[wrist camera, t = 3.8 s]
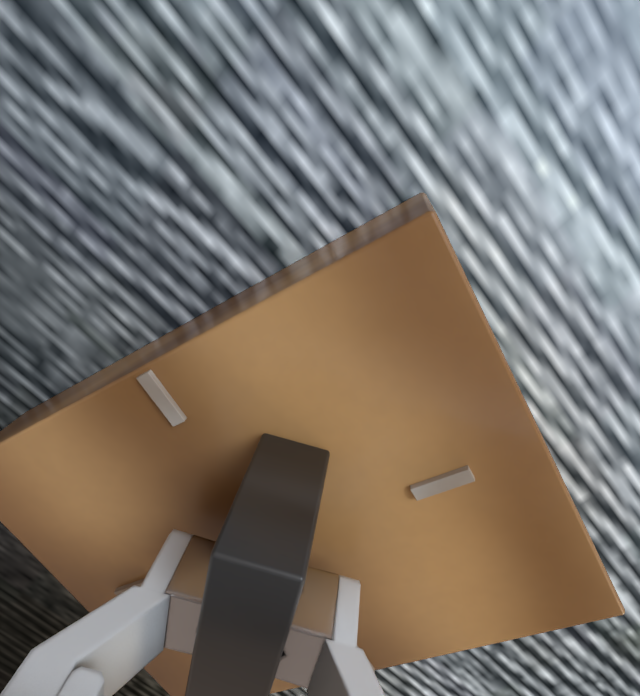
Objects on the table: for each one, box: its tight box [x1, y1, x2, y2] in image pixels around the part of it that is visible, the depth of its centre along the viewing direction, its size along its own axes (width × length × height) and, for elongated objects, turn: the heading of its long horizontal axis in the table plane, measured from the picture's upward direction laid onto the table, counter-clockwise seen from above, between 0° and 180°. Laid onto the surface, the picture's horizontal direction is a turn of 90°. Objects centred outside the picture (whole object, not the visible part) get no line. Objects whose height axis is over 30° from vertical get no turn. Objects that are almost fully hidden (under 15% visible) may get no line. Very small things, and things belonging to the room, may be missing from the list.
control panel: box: [0, 193, 625, 696], centre depth 14 cm, size 14×11×3 cm
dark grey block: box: [185, 433, 330, 696], centre depth 10 cm, size 6×2×4 cm, turn 167°
